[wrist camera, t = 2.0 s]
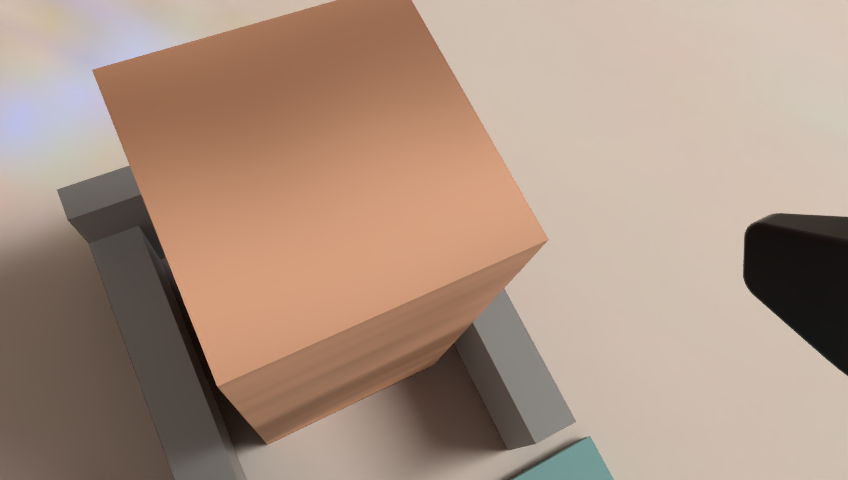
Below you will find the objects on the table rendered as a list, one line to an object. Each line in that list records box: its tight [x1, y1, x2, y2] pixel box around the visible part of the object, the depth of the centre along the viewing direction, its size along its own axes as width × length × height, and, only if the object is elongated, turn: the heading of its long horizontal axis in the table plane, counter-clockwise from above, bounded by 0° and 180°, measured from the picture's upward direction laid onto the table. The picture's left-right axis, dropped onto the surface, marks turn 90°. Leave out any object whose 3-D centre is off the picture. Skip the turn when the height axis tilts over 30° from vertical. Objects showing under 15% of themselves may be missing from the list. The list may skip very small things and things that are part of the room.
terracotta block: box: [92, 0, 548, 445], centre depth 14 cm, size 5×5×10 cm
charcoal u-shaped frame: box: [57, 166, 576, 480], centre depth 17 cm, size 10×9×4 cm
